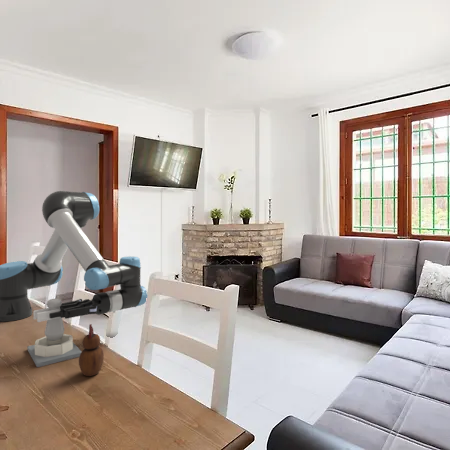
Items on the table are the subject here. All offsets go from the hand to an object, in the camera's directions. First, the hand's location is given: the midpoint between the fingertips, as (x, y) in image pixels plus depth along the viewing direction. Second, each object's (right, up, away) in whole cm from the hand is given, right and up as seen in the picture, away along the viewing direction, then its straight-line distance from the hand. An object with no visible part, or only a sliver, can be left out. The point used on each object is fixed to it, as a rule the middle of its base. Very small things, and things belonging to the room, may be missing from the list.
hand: (35, 316), depth 107 cm
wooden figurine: (+21, -14, -9) cm, 27 cm away
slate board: (+4, -13, +5) cm, 14 cm away
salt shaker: (+4, -9, +4) cm, 10 cm away
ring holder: (+4, -12, +5) cm, 13 cm away
